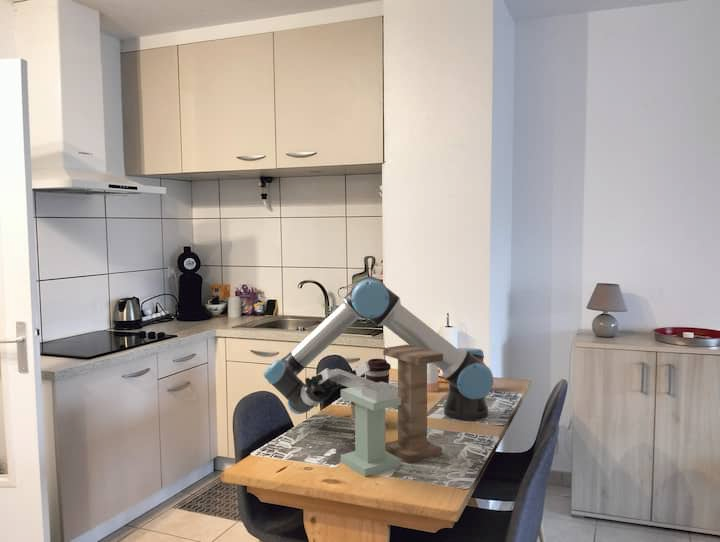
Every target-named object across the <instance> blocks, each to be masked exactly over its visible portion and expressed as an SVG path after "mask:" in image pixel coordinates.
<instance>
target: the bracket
mask: <svg viewBox="0 0 720 542" xmlns="http://www.w3.org/2000/svg"><path fill="white" fill-rule="evenodd" d="M329 372H330V376H331V377H330V378H329V380H331V381H334V382H336V383H339V384H341V385H344V386H343V387H346V388H351V389H354V390H356V391H358V392H361V396H362V397H364V398H367V399H369V400H371V401H374V402H376V403H377V402H382V401H387V400H391V399H396V398H398V386H396V385H393V384H390V383H389V384H388V383H385V382H377V383H376V382H373V381H371V380H368V379H366V377H364V378H362V377H360V376H357V375H354V374H352V373H349V372H350V371H346V370H343V369H340V368H334V369H332V368H331V369H329Z"/></svg>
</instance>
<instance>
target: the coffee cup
mask: <svg viewBox="0 0 720 542" xmlns="http://www.w3.org/2000/svg"><path fill="white" fill-rule="evenodd" d="M367 362H368V365H369V368H370V371H368V372H367V373H365V379H368V380H371V381H373V382H376V383H377V382H385V383H388V384H390V382H389V381H390V370H391V364H390V363H388V361H387V360H386V359H384V358H371V359H368V361H367Z"/></svg>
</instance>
